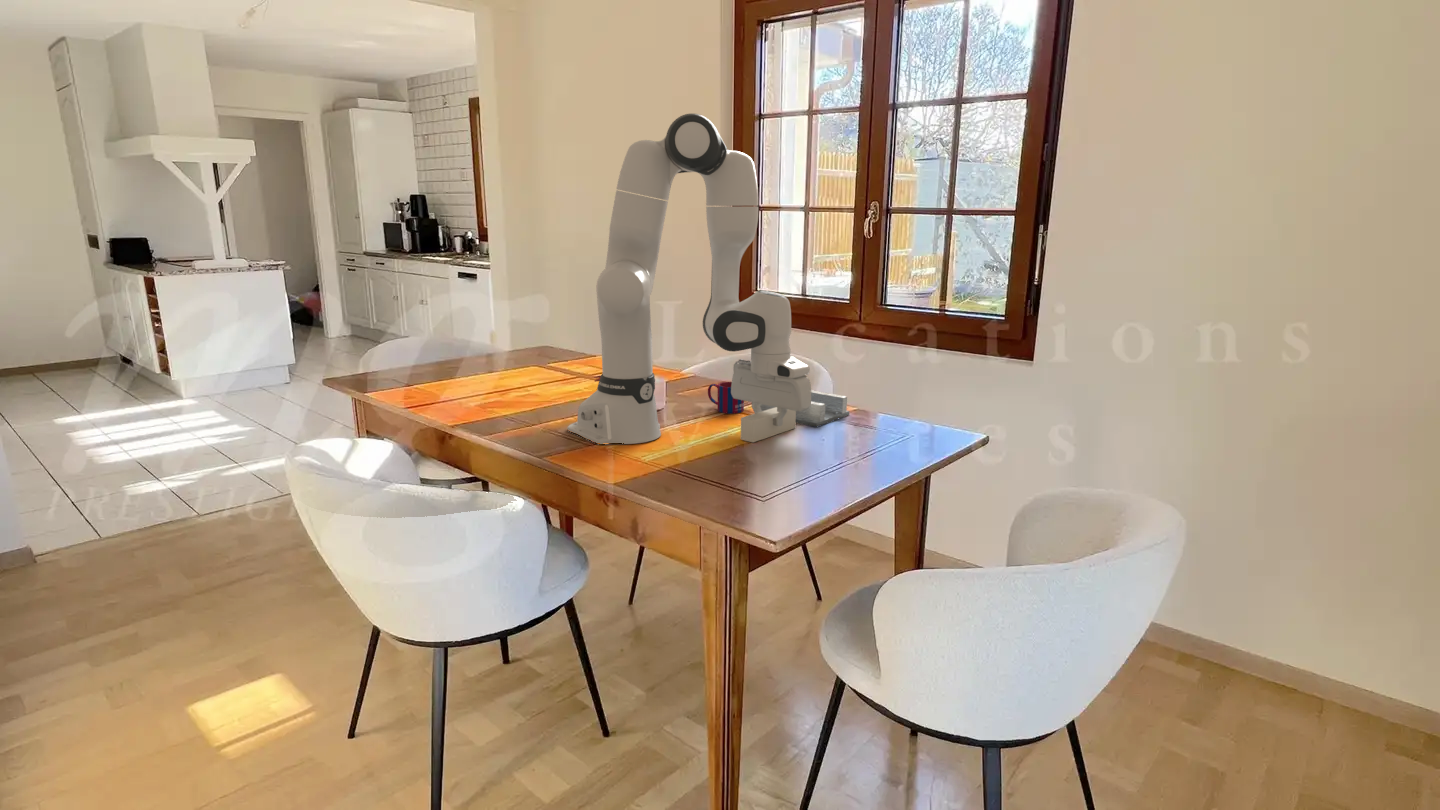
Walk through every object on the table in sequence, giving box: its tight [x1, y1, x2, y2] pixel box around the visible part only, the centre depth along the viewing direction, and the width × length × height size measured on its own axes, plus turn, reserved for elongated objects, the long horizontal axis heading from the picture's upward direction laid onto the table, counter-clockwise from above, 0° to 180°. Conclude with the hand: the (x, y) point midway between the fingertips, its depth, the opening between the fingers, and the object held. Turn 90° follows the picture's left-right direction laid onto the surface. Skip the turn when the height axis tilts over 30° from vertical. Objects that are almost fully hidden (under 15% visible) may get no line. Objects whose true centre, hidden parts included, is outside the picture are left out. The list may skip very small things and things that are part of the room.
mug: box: [707, 381, 745, 415], centre depth 199 cm, size 7×10×7 cm
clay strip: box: [740, 407, 797, 443], centre depth 178 cm, size 4×16×5 cm, turn 139°
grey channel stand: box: [760, 389, 851, 428], centre depth 195 cm, size 18×15×5 cm
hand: (768, 423), depth 178 cm, fingers closed on clay strip, 3 cm apart
